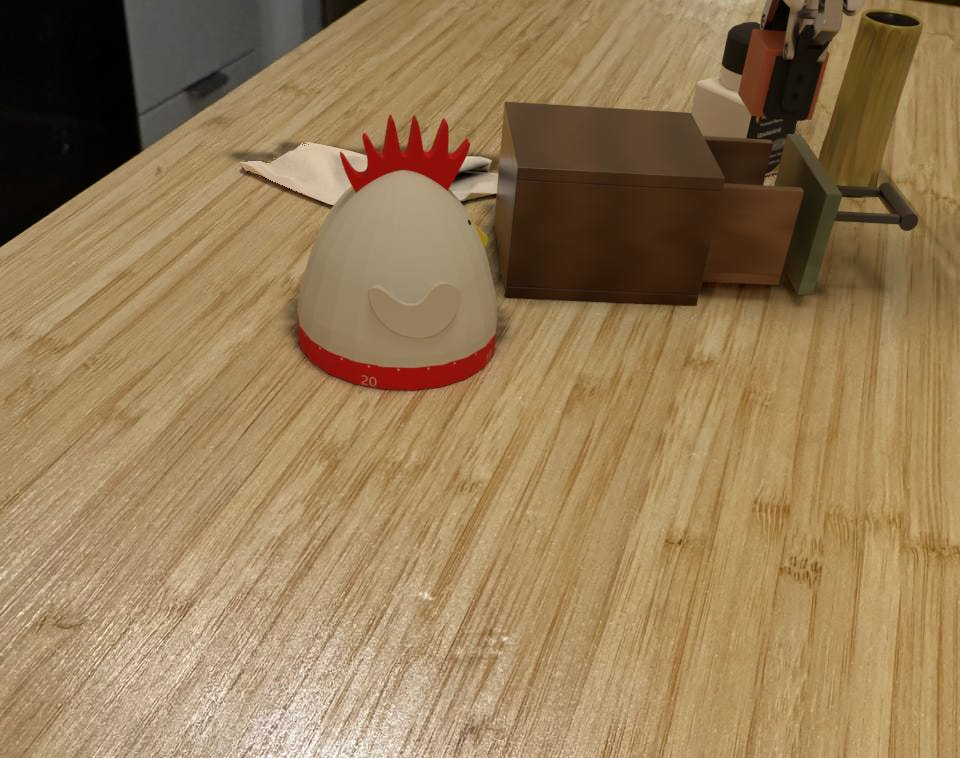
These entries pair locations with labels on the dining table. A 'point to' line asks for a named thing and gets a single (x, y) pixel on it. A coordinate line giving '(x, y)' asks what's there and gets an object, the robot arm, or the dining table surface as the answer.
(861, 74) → the vase
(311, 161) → the cloth
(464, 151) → the kitchen timer
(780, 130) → the medicine bottle
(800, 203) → the drawer
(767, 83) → the block
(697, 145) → the cabinet
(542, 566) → the dining table surface
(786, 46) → the robot arm
